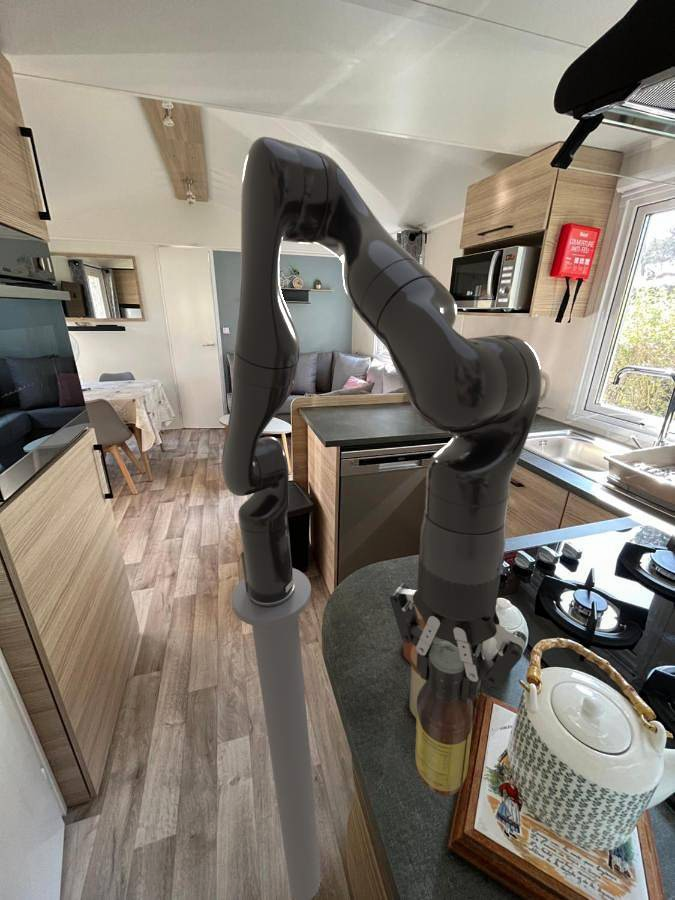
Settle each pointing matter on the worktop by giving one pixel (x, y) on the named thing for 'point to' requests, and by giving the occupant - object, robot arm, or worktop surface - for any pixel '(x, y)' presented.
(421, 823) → the worktop surface
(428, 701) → the sauce bottle
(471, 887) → the worktop surface
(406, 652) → the terracotta jar
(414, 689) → the cream jar
